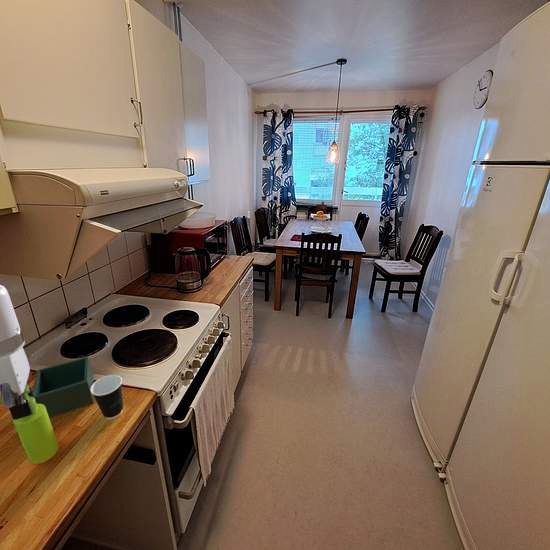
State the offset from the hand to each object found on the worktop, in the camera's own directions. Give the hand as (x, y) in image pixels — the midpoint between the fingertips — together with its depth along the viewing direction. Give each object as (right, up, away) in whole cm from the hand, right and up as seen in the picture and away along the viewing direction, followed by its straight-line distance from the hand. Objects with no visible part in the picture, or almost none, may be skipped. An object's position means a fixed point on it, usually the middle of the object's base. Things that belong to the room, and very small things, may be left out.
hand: (24, 409), depth 65 cm
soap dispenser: (-1, -14, +5) cm, 15 cm away
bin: (-8, -8, +25) cm, 28 cm away
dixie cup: (+9, -11, +20) cm, 25 cm away
